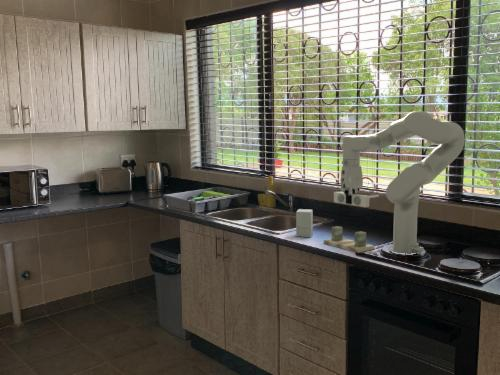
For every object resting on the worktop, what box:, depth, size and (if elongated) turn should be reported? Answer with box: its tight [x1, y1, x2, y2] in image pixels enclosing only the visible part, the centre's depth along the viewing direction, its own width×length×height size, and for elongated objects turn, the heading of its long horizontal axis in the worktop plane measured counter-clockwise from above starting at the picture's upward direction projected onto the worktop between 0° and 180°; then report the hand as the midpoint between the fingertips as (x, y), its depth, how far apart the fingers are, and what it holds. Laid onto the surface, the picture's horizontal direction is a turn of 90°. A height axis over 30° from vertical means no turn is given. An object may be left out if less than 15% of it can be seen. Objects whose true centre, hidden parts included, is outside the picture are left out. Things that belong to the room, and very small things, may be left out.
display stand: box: [323, 225, 375, 254], centre depth 224 cm, size 21×10×8 cm, turn 36°
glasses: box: [333, 191, 380, 208], centre depth 229 cm, size 20×9×5 cm, turn 34°
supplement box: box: [295, 208, 314, 238], centre depth 246 cm, size 7×7×13 cm
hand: (351, 203), depth 227 cm, fingers closed on glasses, 2 cm apart
